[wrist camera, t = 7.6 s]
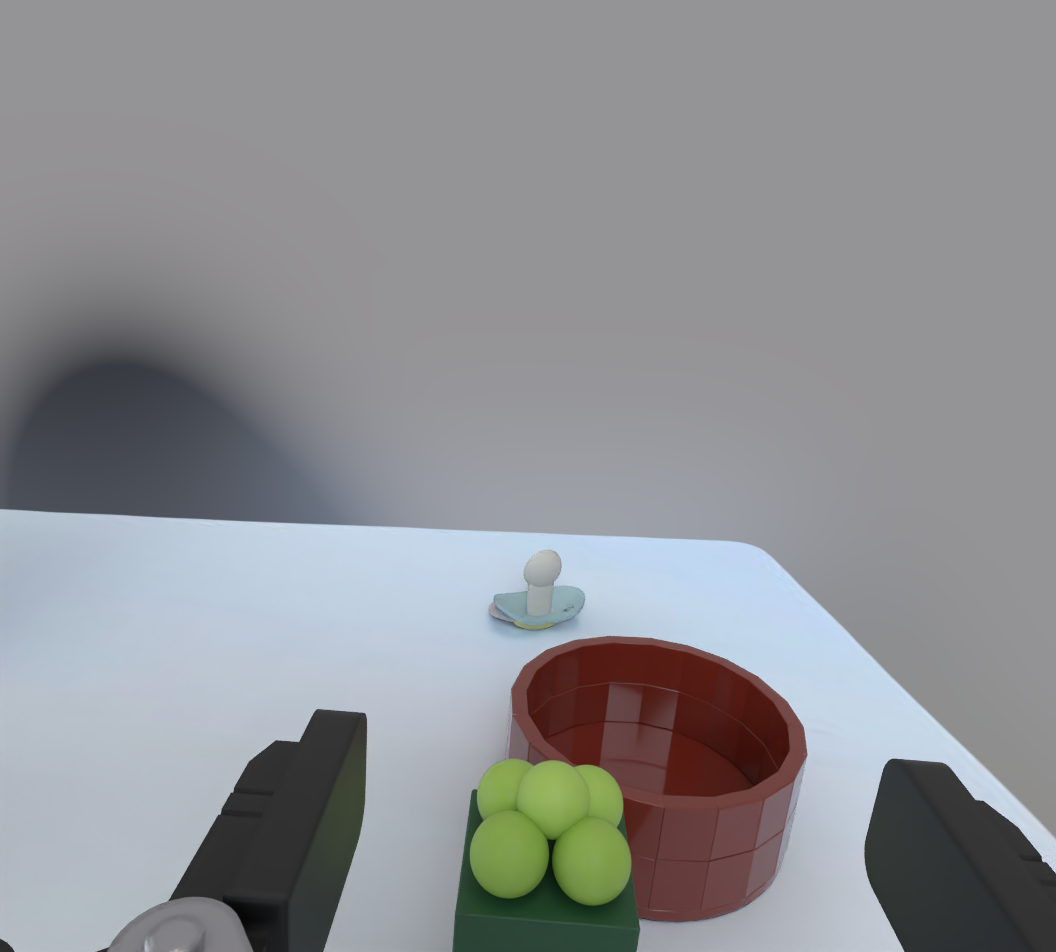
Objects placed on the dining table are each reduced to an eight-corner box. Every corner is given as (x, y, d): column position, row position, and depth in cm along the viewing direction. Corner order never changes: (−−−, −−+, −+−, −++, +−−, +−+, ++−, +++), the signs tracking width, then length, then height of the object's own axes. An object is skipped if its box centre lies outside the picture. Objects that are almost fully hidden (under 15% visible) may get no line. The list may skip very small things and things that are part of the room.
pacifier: (473, 609, 61) (506, 643, 56) (477, 535, 59) (511, 562, 54) (554, 597, 64) (591, 628, 59) (560, 526, 63) (599, 552, 57)
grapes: (609, 1128, 25) (654, 839, 22) (441, 1114, 25) (461, 823, 22) (598, 974, 31) (633, 724, 27) (459, 963, 31) (477, 711, 27)
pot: (727, 984, 31) (752, 863, 29) (445, 820, 38) (452, 716, 37) (815, 791, 43) (836, 697, 41) (587, 695, 50) (597, 612, 48)
